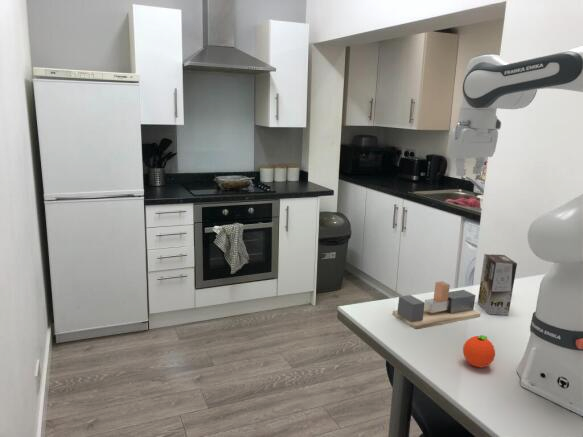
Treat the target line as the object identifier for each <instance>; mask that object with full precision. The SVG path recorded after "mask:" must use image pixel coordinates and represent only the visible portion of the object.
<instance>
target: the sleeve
mask: <svg viewBox="0 0 583 437" xmlns="http://www.w3.org/2000/svg"><path fill="white" fill-rule="evenodd" d="M448 299H450V300H451V303H450V310H445V311H446V312H448V313H450V314H453V313H459V312H464V311H470V310H474V309H475V304H476V303H475V302H476V294H474V293H472V292H469V291H467V290H466V289H460V290H453V291H449V295H448Z"/></svg>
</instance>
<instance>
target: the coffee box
mask: <svg viewBox="0 0 583 437" xmlns="http://www.w3.org/2000/svg"><path fill="white" fill-rule="evenodd" d="M517 267H518V263H517V262H516V261H514V260H512V259H511V258H509V257H508V256H506V255H505V254H489V253H487V254H485V253H484V256H483V262H482V268H481V277H480V284H479V290H478V298H477V304H478V305H479V306H480V307H481V308H482V309H483V311H485V312H486V313H487V314H488V315H498V316H499V315H501V316H509V314H510V308H511V302H512V297H513V291H514V285H515V284H514V283H515V279H516V273H517Z"/></svg>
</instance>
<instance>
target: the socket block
mask: <svg viewBox="0 0 583 437" xmlns="http://www.w3.org/2000/svg"><path fill="white" fill-rule="evenodd" d="M424 306H425V301H422V300H420V299H419V298H416V297H415V296H413V295H411V294H406V295H401V296H399V297H398V304H397V310H398V311H397V314H398V315H400V316H402V317H403V318H405V319H406V320H408V321H410V322H417V321H422V320H423V313H424Z"/></svg>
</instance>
